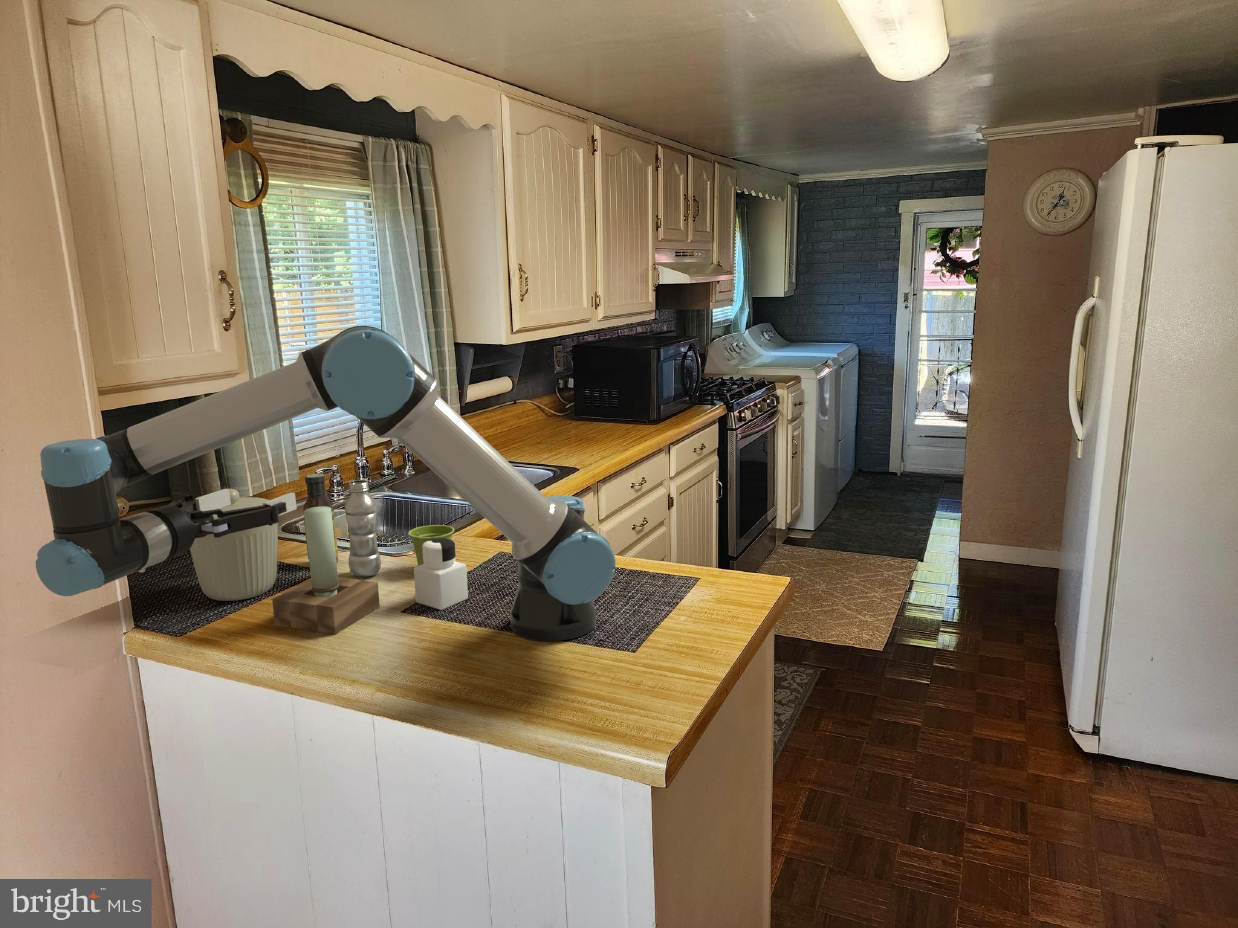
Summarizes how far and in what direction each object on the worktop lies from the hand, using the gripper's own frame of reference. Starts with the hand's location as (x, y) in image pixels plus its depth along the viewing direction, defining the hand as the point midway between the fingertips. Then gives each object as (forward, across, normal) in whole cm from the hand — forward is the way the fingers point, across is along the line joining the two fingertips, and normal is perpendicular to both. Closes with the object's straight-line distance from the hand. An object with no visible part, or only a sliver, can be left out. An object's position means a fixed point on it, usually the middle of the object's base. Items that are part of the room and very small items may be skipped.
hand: (260, 498), depth 141 cm
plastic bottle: (+31, -5, -25) cm, 41 cm away
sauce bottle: (+34, -18, -25) cm, 46 cm away
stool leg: (+10, +2, -25) cm, 27 cm away
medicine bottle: (+23, +18, -26) cm, 39 cm away
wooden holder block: (+10, +2, -25) cm, 27 cm away
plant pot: (+38, +7, -26) cm, 47 cm away
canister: (+16, -23, -25) cm, 37 cm away
